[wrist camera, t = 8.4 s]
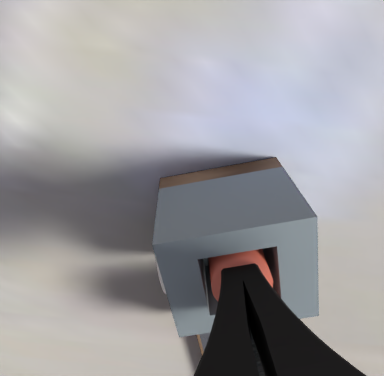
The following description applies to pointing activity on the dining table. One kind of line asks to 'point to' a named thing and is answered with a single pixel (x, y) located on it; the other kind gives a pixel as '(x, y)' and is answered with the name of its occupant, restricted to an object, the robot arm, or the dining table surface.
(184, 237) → the cabinet
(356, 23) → the dining table surface
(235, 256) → the button
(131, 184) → the dining table surface
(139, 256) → the dining table surface
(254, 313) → the robot arm
